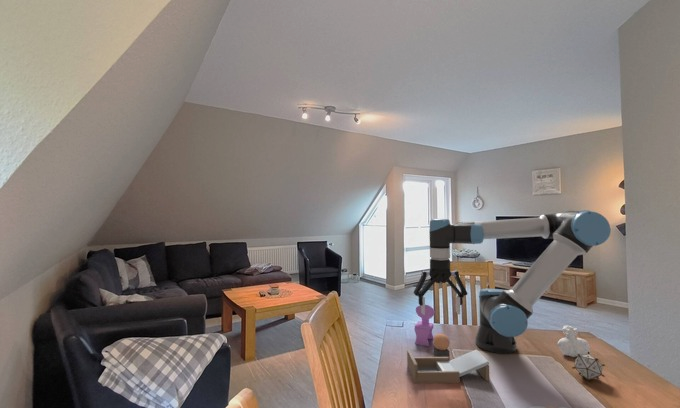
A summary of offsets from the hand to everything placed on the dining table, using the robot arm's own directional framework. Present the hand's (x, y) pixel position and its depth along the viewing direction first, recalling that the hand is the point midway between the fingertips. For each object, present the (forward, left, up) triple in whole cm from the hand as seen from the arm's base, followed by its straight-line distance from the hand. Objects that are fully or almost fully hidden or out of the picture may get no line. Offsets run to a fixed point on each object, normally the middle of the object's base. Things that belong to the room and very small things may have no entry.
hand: (440, 313), depth 123 cm
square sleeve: (0, 0, -16) cm, 16 cm away
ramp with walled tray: (+2, +14, -16) cm, 21 cm away
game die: (-43, +18, -16) cm, 49 cm away
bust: (-51, 0, -16) cm, 54 cm away
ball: (0, 0, -14) cm, 14 cm away
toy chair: (+3, -13, -16) cm, 21 cm away
